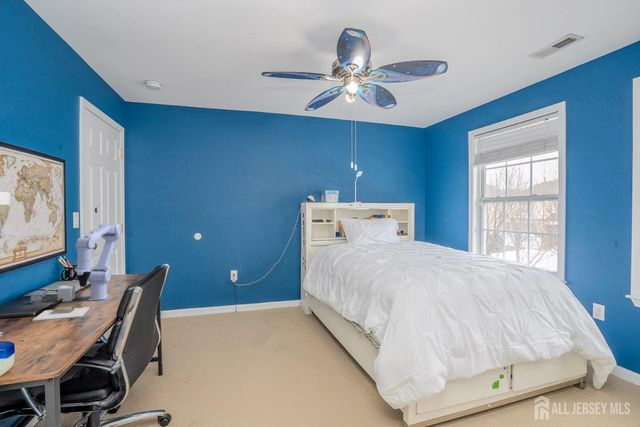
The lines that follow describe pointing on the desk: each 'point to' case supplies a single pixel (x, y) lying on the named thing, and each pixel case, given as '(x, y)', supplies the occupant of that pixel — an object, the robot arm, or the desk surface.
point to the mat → (61, 314)
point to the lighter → (39, 297)
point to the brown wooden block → (65, 308)
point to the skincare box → (66, 293)
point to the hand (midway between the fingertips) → (83, 286)
